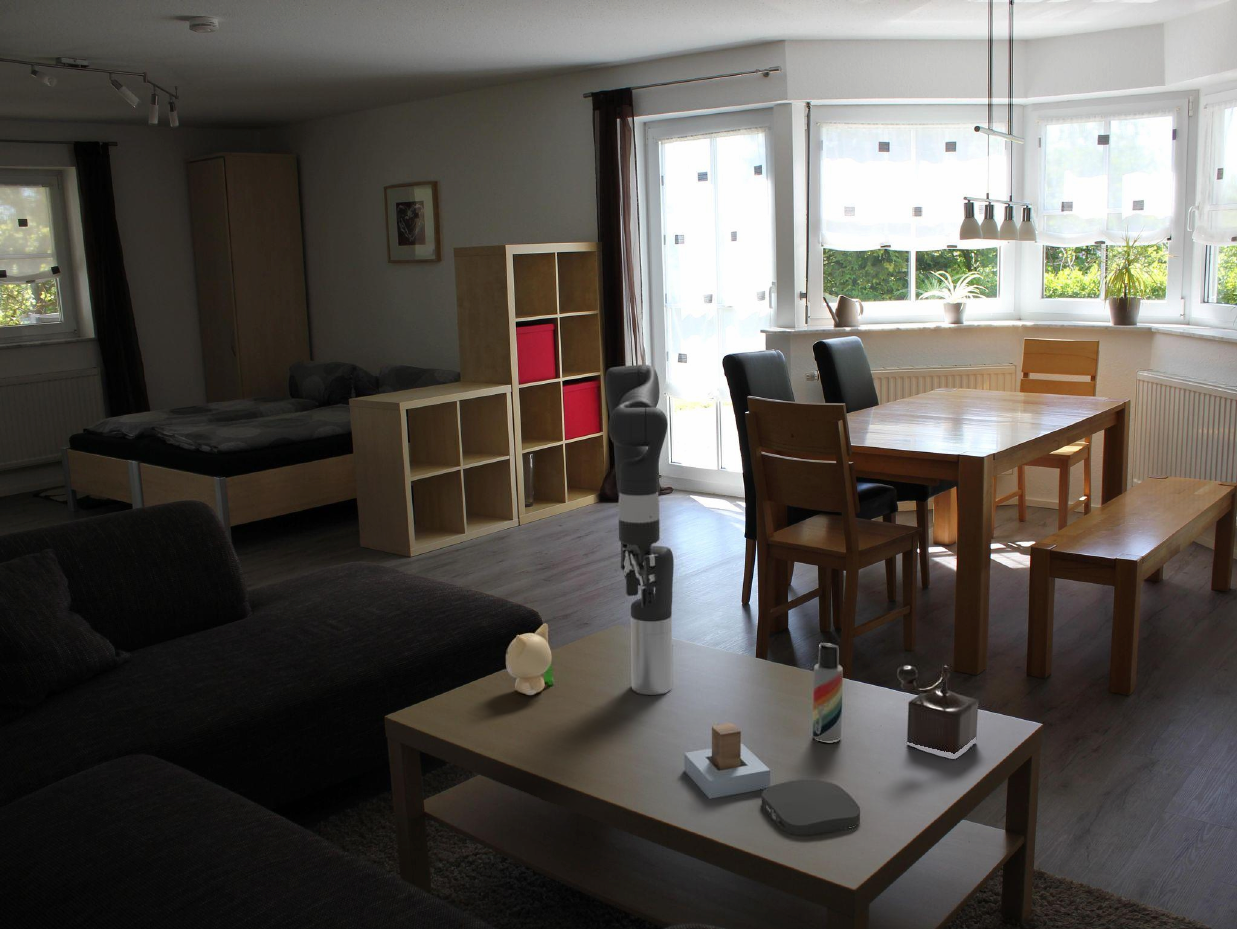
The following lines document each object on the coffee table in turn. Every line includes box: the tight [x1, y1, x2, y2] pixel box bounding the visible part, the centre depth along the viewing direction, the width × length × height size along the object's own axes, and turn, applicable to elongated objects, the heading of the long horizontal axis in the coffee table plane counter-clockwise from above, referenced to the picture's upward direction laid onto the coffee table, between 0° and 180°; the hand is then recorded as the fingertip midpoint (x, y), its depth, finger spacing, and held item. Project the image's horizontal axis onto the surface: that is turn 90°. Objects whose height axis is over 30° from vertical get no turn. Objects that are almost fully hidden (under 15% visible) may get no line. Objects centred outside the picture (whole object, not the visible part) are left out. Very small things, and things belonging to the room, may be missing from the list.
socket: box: [683, 742, 771, 800], centre depth 199 cm, size 12×12×4 cm
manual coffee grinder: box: [896, 664, 979, 754], centre depth 209 cm, size 16×11×18 cm
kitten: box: [505, 623, 555, 696], centre depth 242 cm, size 15×10×15 cm
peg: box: [711, 722, 742, 771], centre depth 198 cm, size 4×4×10 cm
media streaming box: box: [761, 779, 861, 837], centre depth 187 cm, size 15×15×3 cm
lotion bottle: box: [812, 642, 844, 741], centre depth 214 cm, size 6×6×20 cm
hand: (639, 601), depth 198 cm, fingers open, 8 cm apart
